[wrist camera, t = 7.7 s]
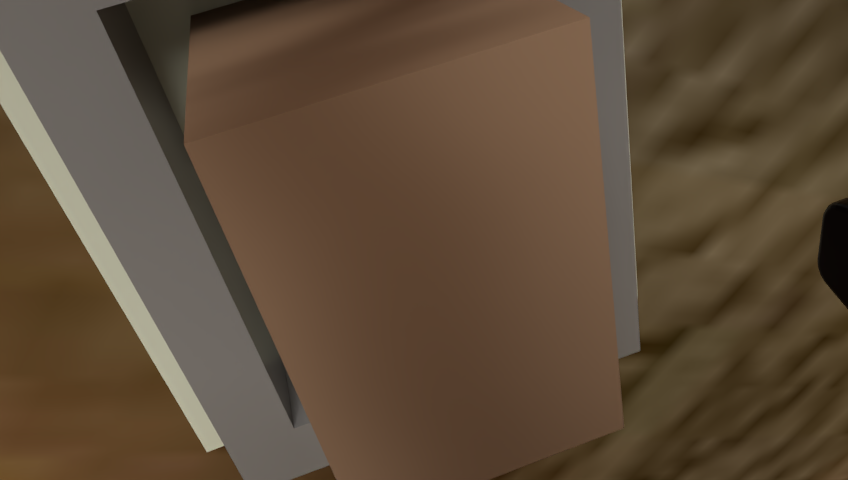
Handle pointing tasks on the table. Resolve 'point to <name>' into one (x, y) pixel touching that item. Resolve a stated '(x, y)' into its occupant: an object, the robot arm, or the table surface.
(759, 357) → the table surface
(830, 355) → the table surface
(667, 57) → the table surface
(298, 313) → the walnut block
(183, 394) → the socket board
